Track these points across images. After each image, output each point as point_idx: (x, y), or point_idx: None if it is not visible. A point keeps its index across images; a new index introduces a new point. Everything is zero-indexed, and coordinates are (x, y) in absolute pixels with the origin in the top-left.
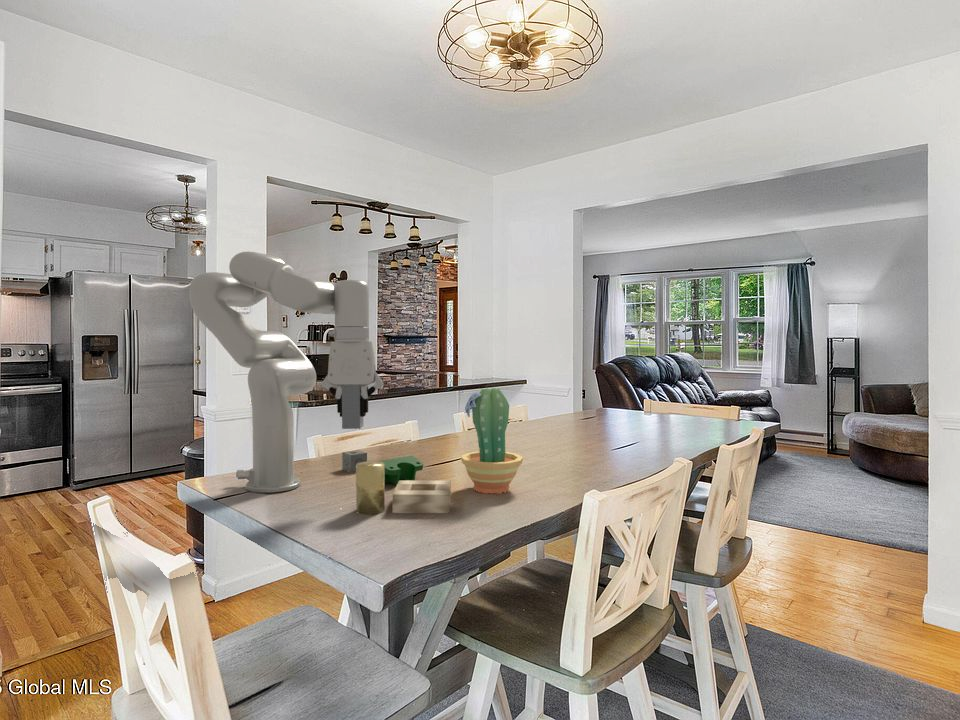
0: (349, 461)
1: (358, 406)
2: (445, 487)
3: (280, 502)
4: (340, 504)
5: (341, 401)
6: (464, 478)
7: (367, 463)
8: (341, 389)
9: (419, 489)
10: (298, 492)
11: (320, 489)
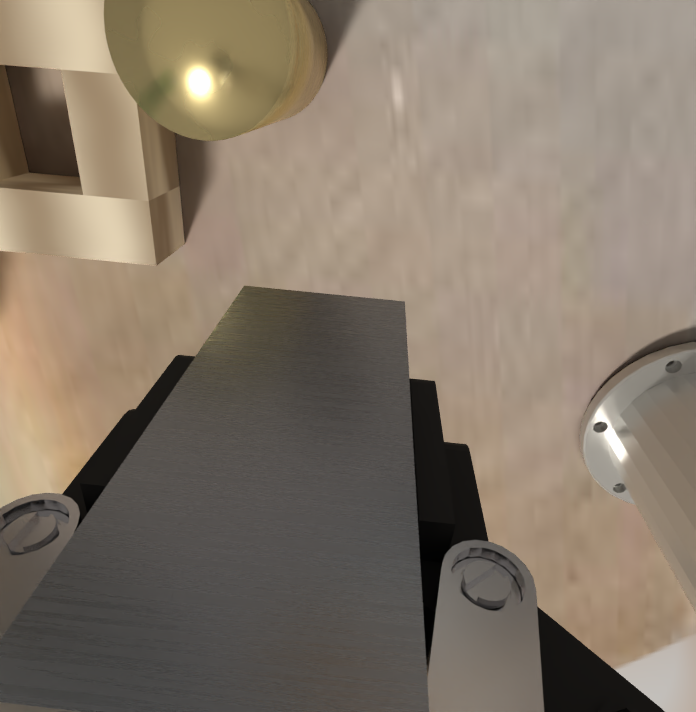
0: None
1: (186, 401)
2: None
3: (662, 209)
4: (405, 158)
5: (422, 494)
6: (14, 457)
7: (221, 68)
8: (436, 703)
9: (64, 187)
10: (584, 346)
11: (499, 377)
